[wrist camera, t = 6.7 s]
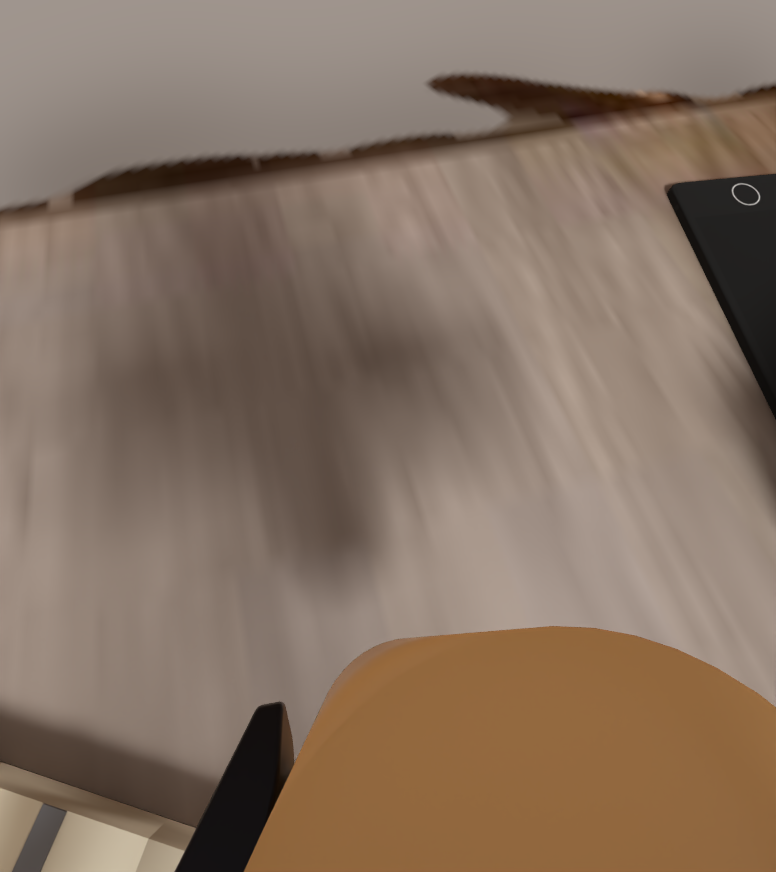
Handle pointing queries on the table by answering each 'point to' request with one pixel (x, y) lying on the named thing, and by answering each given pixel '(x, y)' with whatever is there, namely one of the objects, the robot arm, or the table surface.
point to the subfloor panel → (80, 830)
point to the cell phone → (738, 259)
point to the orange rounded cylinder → (530, 761)
